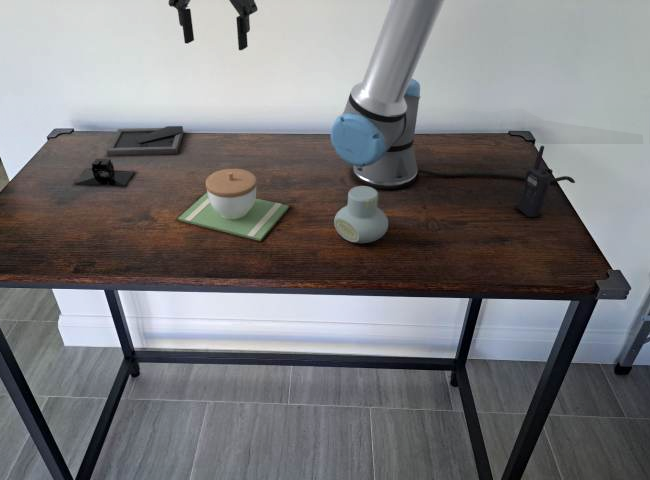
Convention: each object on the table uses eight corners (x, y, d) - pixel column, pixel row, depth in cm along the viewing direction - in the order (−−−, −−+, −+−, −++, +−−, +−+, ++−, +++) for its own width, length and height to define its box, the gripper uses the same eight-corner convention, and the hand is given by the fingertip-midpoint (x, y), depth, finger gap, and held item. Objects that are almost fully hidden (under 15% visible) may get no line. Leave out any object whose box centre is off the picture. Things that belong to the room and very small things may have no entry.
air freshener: (393, 239, 114) (398, 196, 107) (364, 254, 110) (368, 211, 103) (355, 217, 120) (358, 175, 114) (327, 231, 116) (328, 188, 110)
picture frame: (183, 132, 156) (119, 134, 156) (182, 125, 154) (117, 127, 154) (176, 154, 145) (107, 155, 145) (175, 147, 144) (106, 148, 144)
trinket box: (261, 200, 125) (259, 162, 119) (254, 226, 117) (251, 186, 111) (214, 198, 126) (210, 160, 120) (204, 224, 118) (199, 185, 112)
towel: (288, 208, 124) (288, 205, 123) (260, 241, 114) (260, 238, 114) (211, 190, 130) (211, 187, 130) (178, 220, 121) (177, 217, 120)
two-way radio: (513, 207, 122) (531, 143, 113) (530, 203, 123) (549, 139, 114) (530, 220, 118) (550, 155, 109) (547, 215, 119) (568, 151, 110)
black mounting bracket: (75, 185, 134) (70, 167, 131) (87, 170, 139) (82, 153, 137) (125, 186, 133) (120, 169, 130) (135, 172, 138) (131, 154, 135)
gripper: (270, -70, 107) (274, 46, 121) (162, -74, 115) (177, 34, 129) (252, -64, 102) (258, 56, 115) (140, -69, 110) (158, 43, 124)
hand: (215, 45), depth 122 cm, fingers open, 13 cm apart
